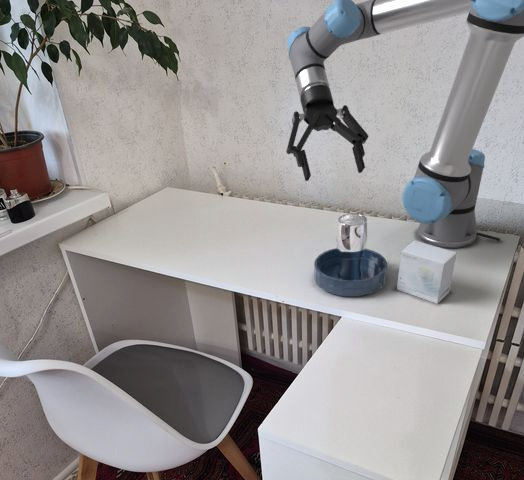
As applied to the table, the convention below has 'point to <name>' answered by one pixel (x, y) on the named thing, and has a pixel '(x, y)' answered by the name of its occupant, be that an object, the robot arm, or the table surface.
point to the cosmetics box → (426, 271)
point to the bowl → (370, 282)
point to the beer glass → (351, 245)
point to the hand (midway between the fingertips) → (335, 174)
